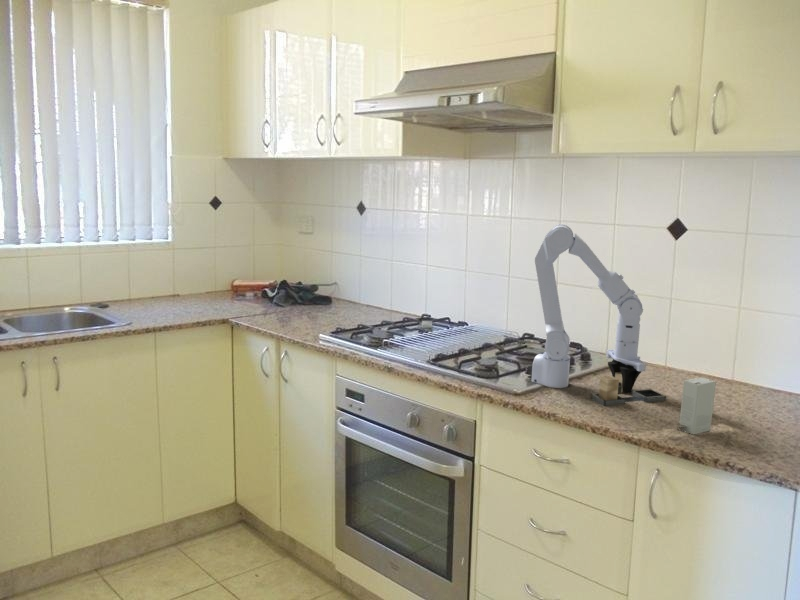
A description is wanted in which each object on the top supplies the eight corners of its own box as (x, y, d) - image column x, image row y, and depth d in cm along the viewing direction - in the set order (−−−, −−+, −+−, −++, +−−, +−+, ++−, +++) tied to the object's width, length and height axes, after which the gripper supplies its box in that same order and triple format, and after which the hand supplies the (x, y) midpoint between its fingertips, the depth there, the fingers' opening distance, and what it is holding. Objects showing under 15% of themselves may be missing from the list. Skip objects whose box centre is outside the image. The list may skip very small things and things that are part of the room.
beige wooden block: (623, 393, 190) (625, 371, 189) (631, 397, 187) (633, 375, 186) (609, 394, 188) (611, 372, 187) (616, 398, 185) (618, 376, 184)
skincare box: (695, 425, 167) (700, 375, 164) (711, 431, 163) (717, 381, 160) (677, 429, 164) (682, 378, 161) (693, 436, 160) (698, 384, 158)
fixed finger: (605, 403, 176) (607, 380, 175) (598, 399, 179) (600, 376, 178) (621, 402, 177) (623, 379, 176) (613, 398, 180) (615, 375, 179)
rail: (603, 411, 174) (604, 401, 174) (590, 403, 180) (591, 393, 180) (664, 406, 180) (665, 396, 179) (650, 398, 186) (650, 389, 185)
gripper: (657, 346, 179) (652, 397, 182) (623, 333, 193) (619, 381, 195) (634, 347, 177) (629, 399, 180) (601, 334, 191) (597, 383, 193)
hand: (622, 390), depth 187 cm, fingers closed on beige wooden block, 3 cm apart
